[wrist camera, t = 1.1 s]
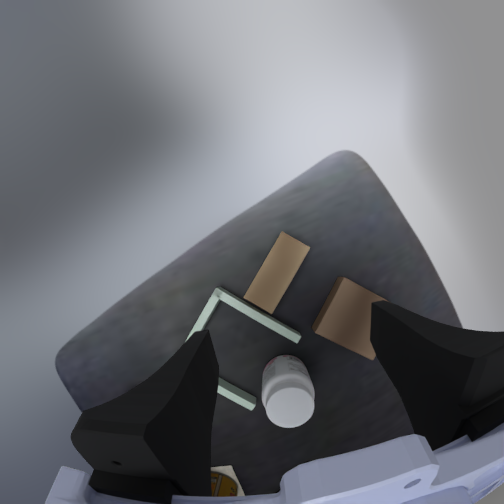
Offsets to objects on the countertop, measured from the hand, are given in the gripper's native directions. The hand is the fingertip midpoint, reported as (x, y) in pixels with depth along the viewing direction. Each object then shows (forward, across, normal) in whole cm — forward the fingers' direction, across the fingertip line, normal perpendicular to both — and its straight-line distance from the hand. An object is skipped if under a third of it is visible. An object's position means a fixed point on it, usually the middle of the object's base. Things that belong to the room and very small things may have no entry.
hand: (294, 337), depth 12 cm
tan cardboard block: (+16, -8, +10) cm, 20 cm away
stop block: (+18, 0, +4) cm, 18 cm away
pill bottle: (+14, 0, +14) cm, 20 cm away
